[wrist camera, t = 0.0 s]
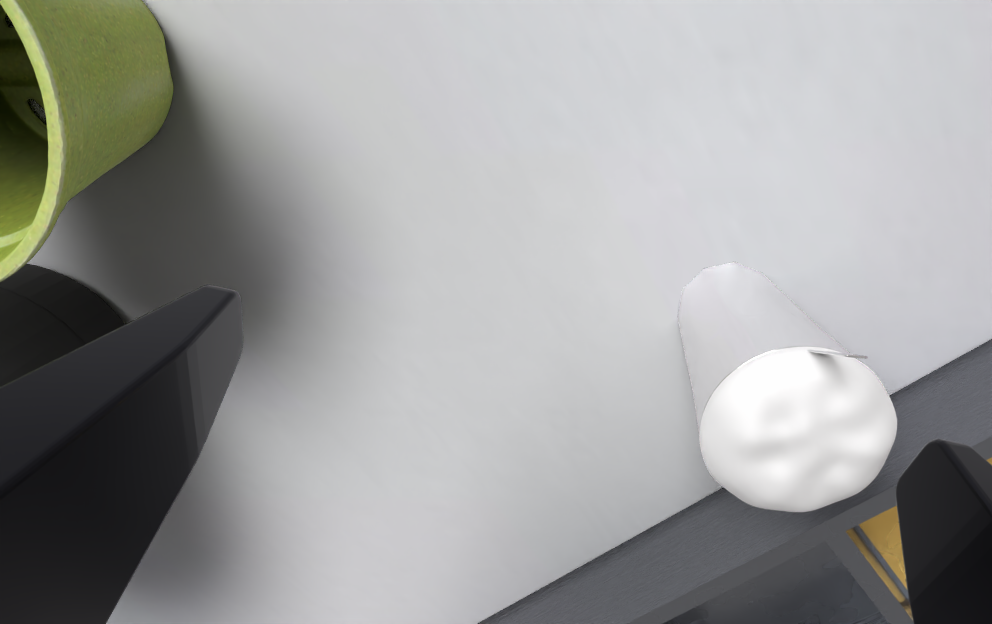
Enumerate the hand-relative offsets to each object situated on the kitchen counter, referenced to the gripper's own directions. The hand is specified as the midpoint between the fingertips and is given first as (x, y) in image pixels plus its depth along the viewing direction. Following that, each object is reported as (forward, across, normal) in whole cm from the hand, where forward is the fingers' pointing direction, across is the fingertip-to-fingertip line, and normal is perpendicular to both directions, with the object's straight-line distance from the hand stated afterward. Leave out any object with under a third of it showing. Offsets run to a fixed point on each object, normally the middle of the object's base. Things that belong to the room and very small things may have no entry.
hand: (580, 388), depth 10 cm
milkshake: (+14, -7, +7) cm, 17 cm away
